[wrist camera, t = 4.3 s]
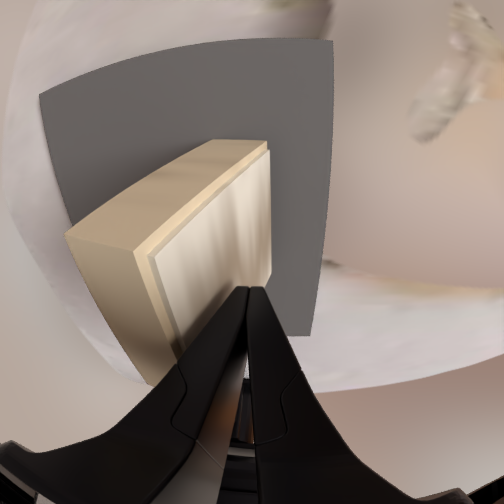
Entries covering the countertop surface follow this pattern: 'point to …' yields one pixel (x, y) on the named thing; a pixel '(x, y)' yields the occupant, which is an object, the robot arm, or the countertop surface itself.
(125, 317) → the cream rectangular block
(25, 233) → the countertop surface
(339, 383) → the countertop surface
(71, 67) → the countertop surface
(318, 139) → the mat
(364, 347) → the countertop surface
